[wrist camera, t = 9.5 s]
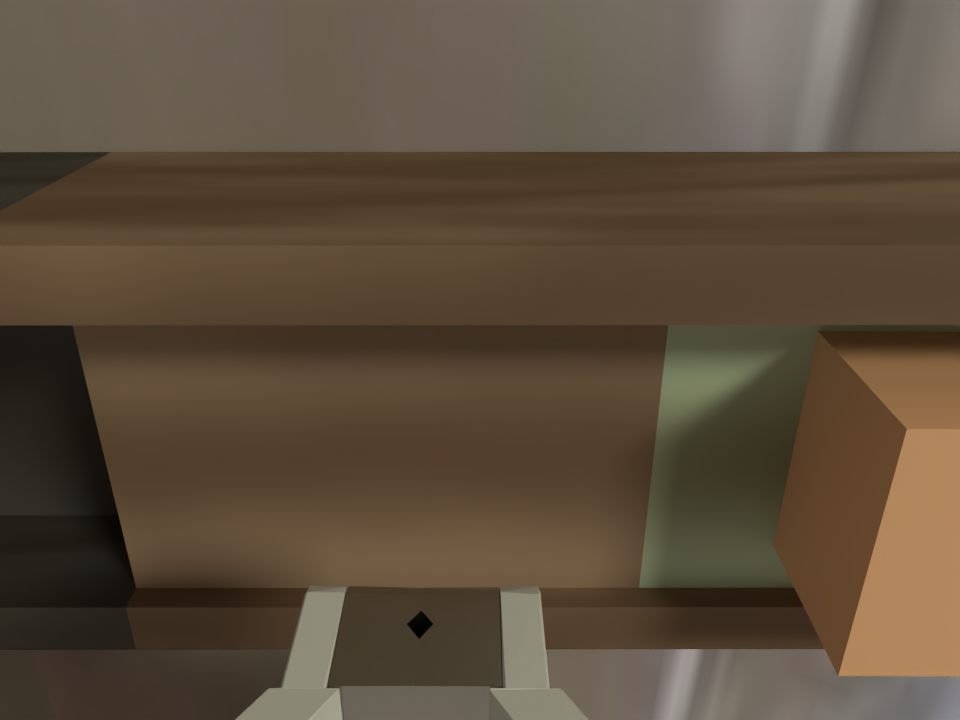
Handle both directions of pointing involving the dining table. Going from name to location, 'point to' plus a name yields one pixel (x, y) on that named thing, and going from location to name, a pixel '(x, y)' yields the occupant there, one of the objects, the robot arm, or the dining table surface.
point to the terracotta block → (878, 502)
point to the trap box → (431, 380)
